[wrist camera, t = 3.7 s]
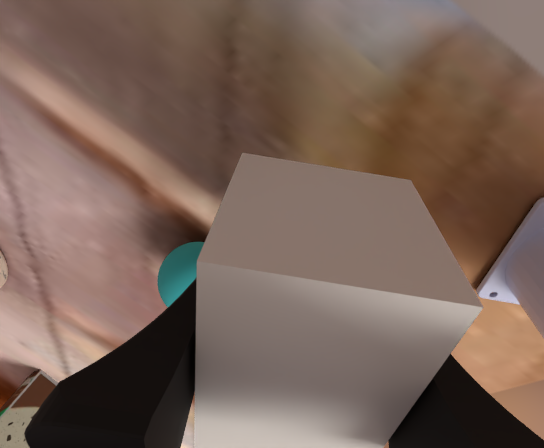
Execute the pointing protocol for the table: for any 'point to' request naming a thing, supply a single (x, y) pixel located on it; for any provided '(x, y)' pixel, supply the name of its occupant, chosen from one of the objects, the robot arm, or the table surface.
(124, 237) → the table surface
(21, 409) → the food container
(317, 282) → the white block
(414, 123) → the table surface
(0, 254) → the teacup with lid
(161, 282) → the ball
